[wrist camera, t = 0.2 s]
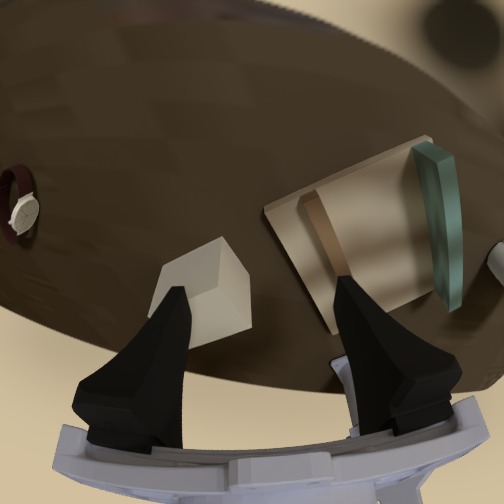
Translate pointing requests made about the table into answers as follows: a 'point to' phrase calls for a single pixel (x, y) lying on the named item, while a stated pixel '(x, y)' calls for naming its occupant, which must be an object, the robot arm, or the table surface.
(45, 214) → the table surface
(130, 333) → the table surface
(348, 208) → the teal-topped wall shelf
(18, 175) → the watch
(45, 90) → the table surface
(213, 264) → the beige rectangular block
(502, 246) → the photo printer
